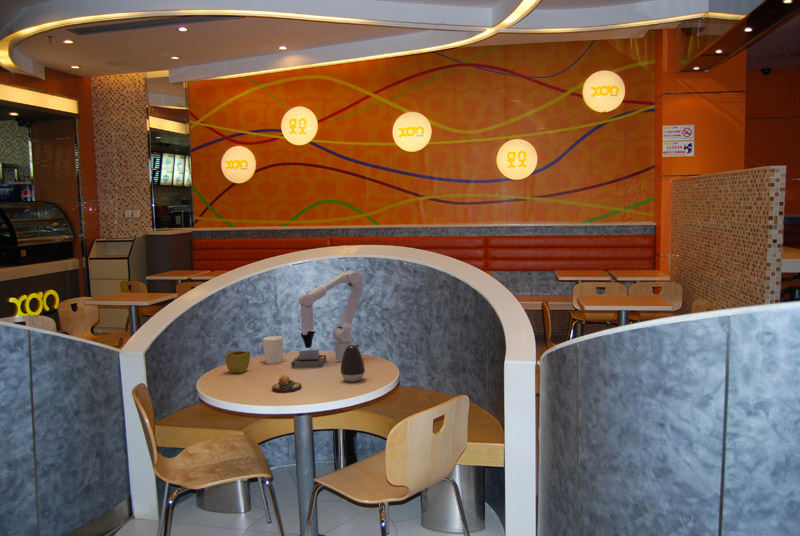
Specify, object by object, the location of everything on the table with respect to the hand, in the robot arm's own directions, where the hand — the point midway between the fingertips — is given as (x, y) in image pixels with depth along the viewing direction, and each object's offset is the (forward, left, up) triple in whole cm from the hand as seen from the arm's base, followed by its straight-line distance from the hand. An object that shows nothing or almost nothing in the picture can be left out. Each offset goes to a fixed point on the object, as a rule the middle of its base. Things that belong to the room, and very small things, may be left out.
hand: (308, 347), depth 293 cm
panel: (0, 0, -8) cm, 8 cm away
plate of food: (+1, +43, -9) cm, 44 cm away
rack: (0, 0, -8) cm, 8 cm away
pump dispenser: (-25, +32, -9) cm, 42 cm away
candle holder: (+19, -8, -9) cm, 22 cm away
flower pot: (+31, +11, -9) cm, 34 cm away
